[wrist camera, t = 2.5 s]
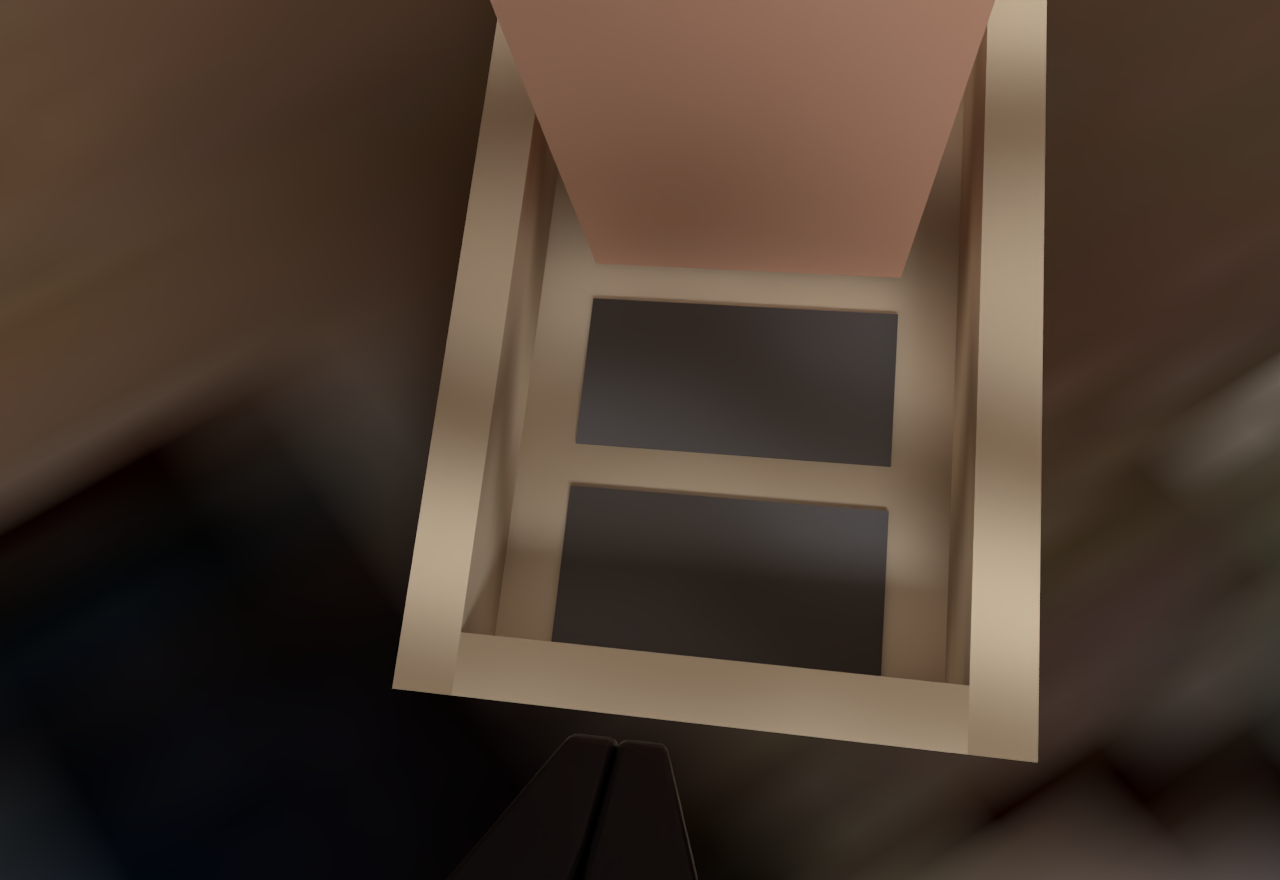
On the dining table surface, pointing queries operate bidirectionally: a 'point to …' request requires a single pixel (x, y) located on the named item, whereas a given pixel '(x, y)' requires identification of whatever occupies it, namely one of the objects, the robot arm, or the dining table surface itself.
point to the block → (747, 124)
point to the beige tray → (748, 457)
